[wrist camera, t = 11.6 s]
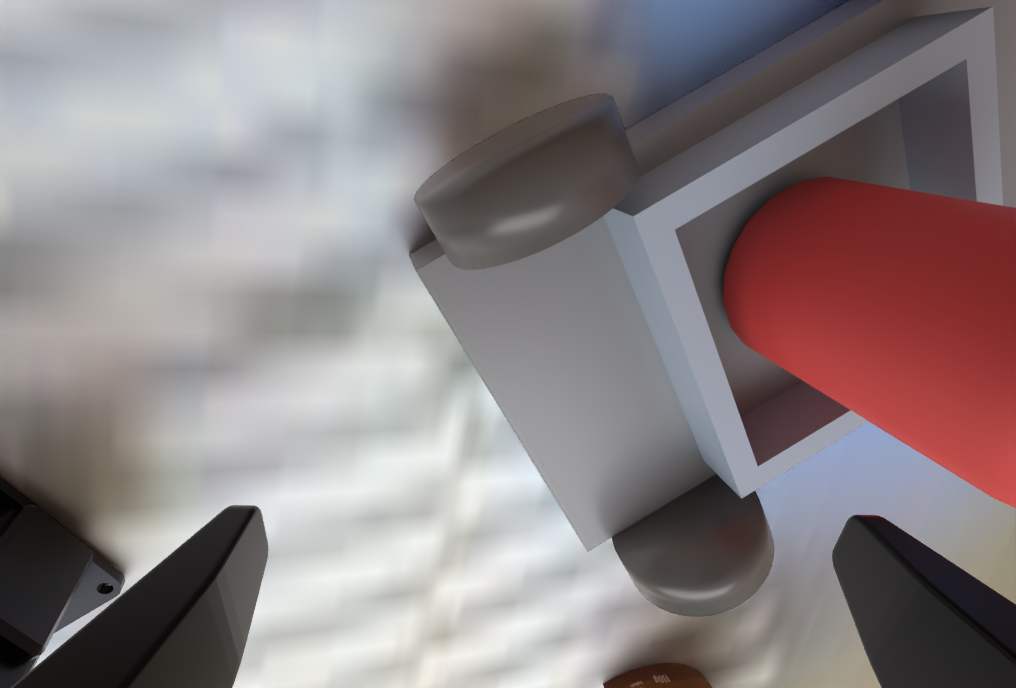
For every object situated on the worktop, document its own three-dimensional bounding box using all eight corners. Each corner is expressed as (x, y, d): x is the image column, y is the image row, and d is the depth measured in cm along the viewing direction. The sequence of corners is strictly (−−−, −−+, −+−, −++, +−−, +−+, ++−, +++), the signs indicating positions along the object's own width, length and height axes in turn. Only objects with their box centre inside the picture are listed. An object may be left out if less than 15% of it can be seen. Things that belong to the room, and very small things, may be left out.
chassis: (587, 548, 27) (649, 660, 21) (376, 201, 18) (392, 245, 13) (1019, 286, 28) (1182, 332, 22) (1003, -157, 19) (1255, -252, 14)
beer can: (899, 242, 22) (1420, 379, 11) (784, 378, 23) (1161, 617, 13) (803, 133, 19) (1377, 182, 9) (678, 294, 20) (1049, 511, 10)
